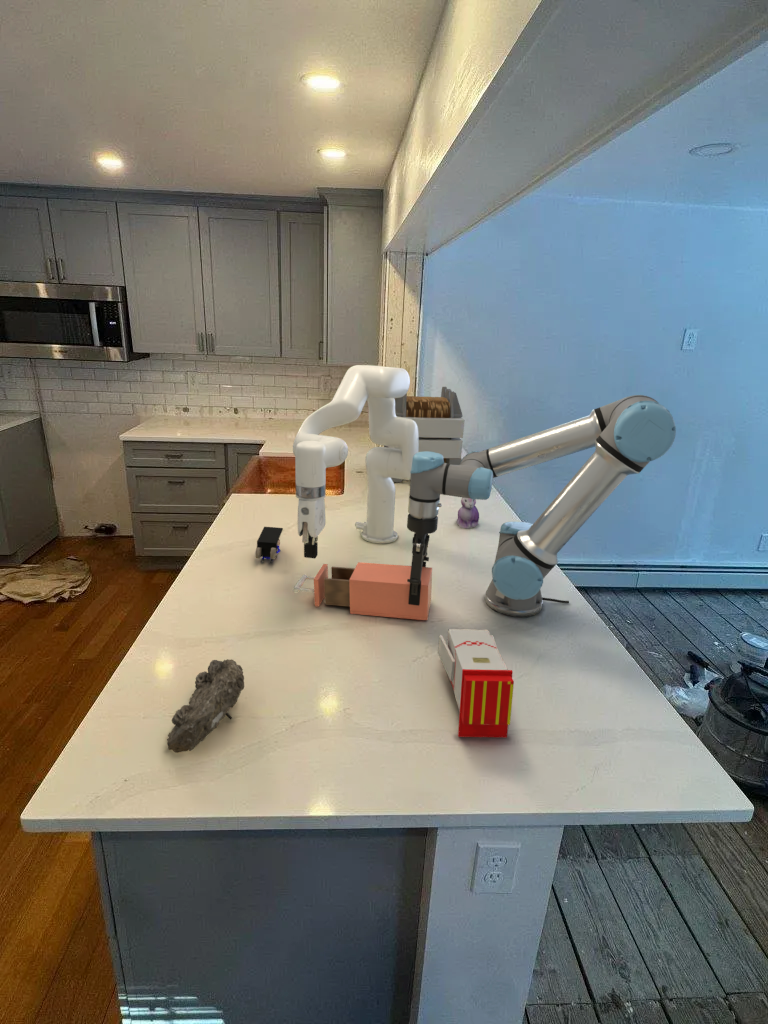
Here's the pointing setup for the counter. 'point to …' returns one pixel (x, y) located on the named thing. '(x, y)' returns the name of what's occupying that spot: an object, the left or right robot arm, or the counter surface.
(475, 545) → the counter surface
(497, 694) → the toy
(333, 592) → the drawer
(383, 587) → the cabinet
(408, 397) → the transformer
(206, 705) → the fossil
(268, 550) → the figurine character
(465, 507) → the figurine
